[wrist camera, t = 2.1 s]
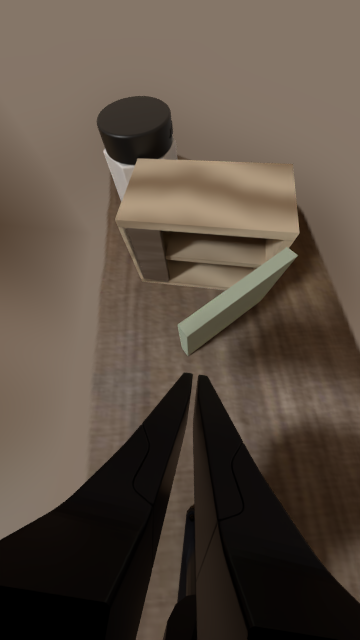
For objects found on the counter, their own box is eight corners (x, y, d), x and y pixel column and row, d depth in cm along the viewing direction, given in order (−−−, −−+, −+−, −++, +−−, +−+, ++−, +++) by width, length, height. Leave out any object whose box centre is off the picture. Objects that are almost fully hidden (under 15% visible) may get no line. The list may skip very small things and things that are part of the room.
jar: (189, 217, 30) (189, 115, 19) (149, 242, 29) (123, 148, 17) (158, 189, 33) (141, 86, 22) (120, 211, 31) (81, 112, 20)
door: (260, 300, 24) (297, 255, 16) (187, 356, 22) (187, 336, 14) (254, 294, 24) (287, 246, 16) (181, 348, 22) (177, 324, 14)
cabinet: (256, 293, 24) (299, 233, 15) (142, 281, 26) (115, 219, 16) (256, 241, 28) (292, 164, 18) (154, 233, 29) (137, 158, 20)
